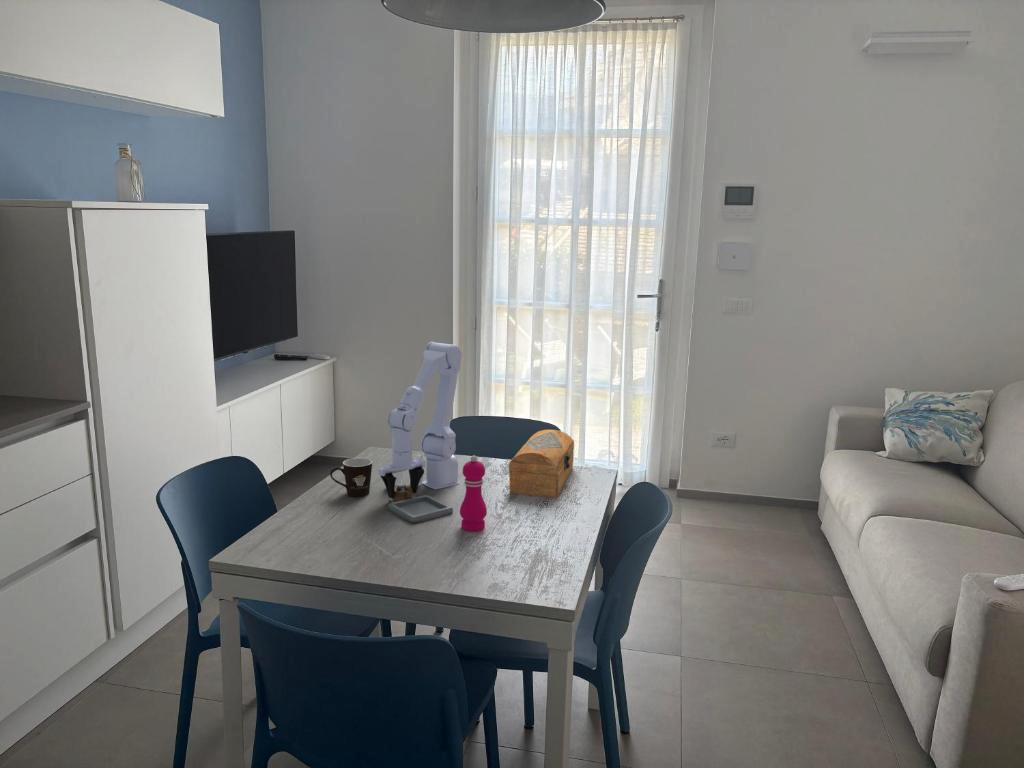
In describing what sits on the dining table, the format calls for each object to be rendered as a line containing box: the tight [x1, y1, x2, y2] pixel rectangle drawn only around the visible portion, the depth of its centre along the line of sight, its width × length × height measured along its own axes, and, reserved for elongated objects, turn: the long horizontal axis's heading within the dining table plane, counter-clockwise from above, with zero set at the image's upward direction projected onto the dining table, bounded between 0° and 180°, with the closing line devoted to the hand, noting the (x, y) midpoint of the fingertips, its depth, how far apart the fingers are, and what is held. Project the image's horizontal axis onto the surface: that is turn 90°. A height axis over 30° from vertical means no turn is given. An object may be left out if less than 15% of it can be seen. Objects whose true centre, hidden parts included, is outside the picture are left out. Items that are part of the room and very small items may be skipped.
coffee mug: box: [329, 457, 373, 498], centre depth 234 cm, size 12×9×10 cm
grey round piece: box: [388, 483, 416, 503], centre depth 230 cm, size 8×8×5 cm
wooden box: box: [508, 429, 575, 499], centre depth 249 cm, size 30×16×14 cm, turn 165°
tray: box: [387, 494, 454, 525], centre depth 222 cm, size 13×13×2 cm
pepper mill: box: [459, 455, 488, 532], centre depth 210 cm, size 7×7×20 cm
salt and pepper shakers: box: [390, 453, 425, 487], centre depth 241 cm, size 12×4×11 cm, turn 115°
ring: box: [393, 485, 413, 502], centre depth 231 cm, size 5×8×3 cm
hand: (402, 494), depth 231 cm, fingers open, 7 cm apart
